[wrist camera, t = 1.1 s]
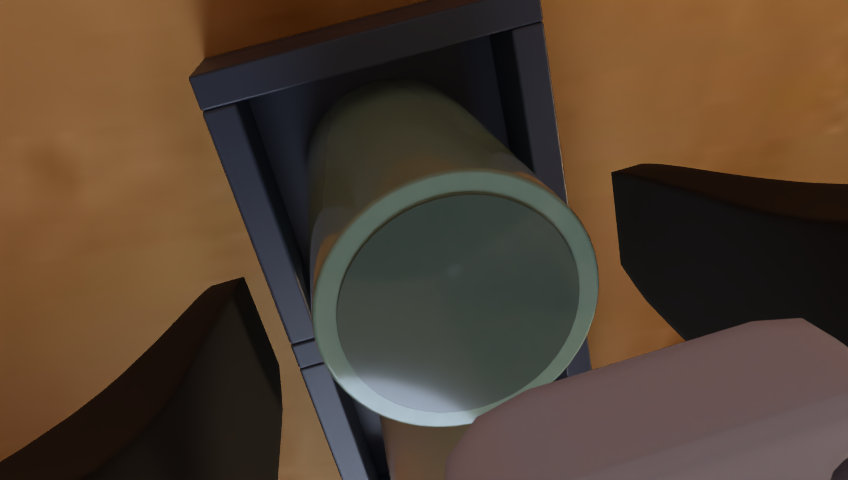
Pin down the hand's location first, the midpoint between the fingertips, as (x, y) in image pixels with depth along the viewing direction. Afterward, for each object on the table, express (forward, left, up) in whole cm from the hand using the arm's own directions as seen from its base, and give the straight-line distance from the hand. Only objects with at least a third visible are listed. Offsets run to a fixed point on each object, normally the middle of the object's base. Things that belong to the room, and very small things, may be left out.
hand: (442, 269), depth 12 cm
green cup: (0, 0, -7) cm, 7 cm away
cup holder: (-4, 0, -7) cm, 8 cm away
